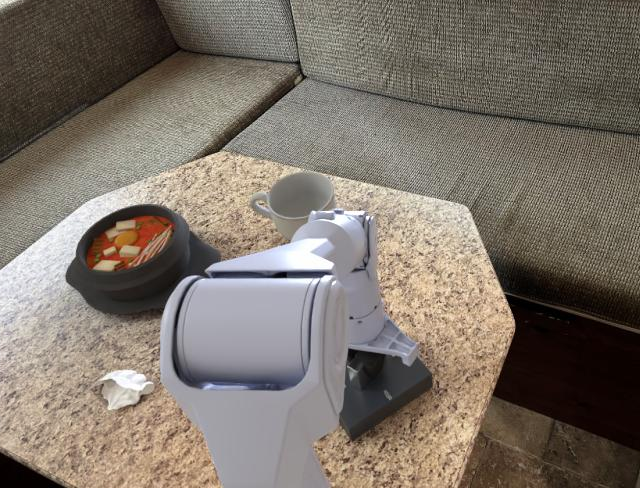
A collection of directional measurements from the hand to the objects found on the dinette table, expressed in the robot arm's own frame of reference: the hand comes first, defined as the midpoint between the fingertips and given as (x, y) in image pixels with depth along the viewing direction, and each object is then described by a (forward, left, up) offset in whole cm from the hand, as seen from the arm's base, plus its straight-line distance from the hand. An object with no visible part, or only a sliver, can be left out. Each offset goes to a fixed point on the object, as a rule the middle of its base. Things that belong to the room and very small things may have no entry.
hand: (369, 368), depth 75 cm
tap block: (0, 0, -3) cm, 3 cm away
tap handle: (0, 0, 0) cm, 0 cm away
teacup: (+6, +32, -4) cm, 33 cm away
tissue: (-27, +19, -4) cm, 33 cm away
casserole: (-18, +38, -4) cm, 42 cm away
